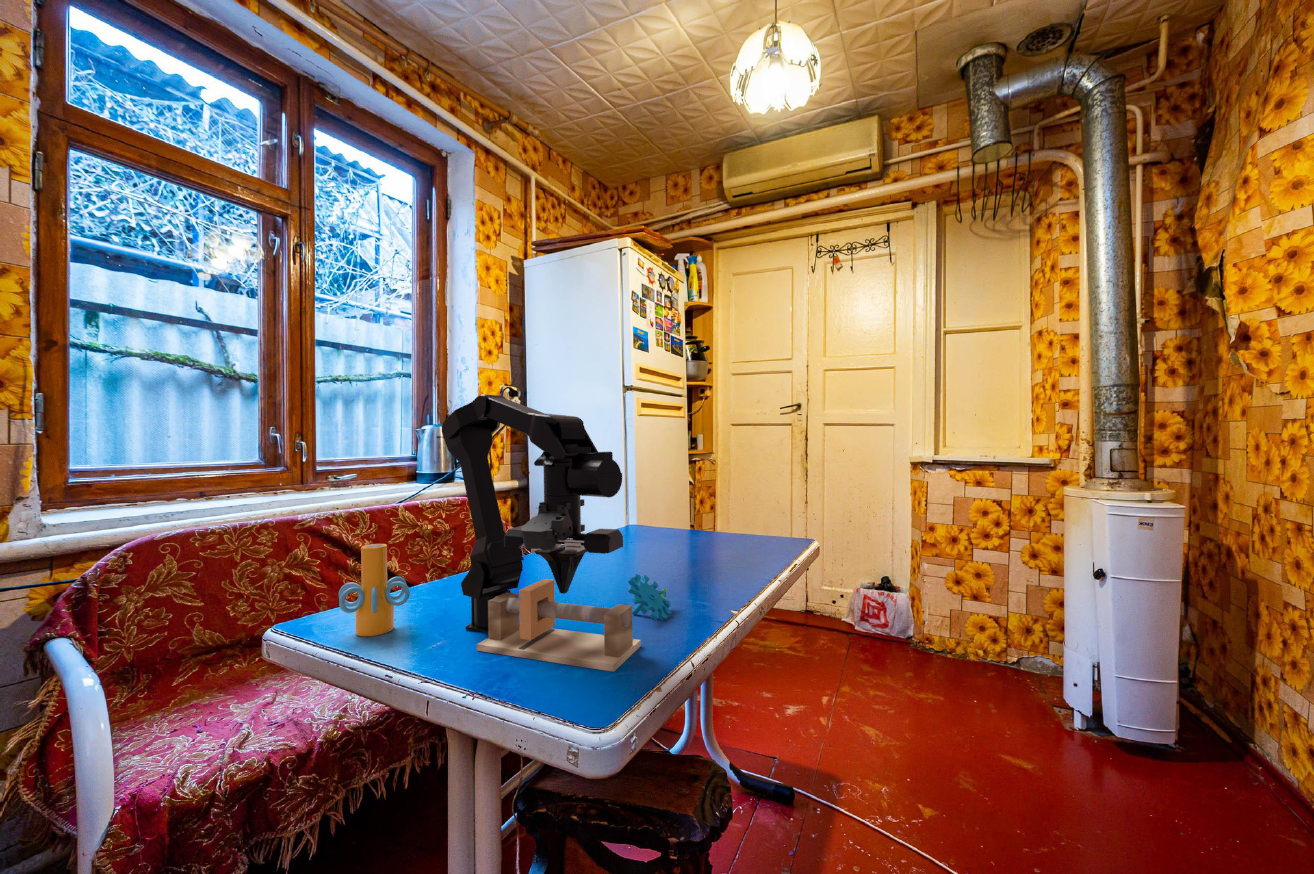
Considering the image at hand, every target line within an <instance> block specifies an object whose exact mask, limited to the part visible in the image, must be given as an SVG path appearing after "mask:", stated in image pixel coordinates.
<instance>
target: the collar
mask: <svg viewBox="0 0 1314 874" xmlns="http://www.w3.org/2000/svg"><path fill="white" fill-rule="evenodd" d="M555 596H556V594H555V579H549V578H543V579H541V580H539V581H536V582H534V583H532V584H530V585H528V586H527V585H526V586H525V587H523V588H520V589H519V598H520V614H519V624H520V639H527V640H532V639H534V638H535V637H537V636H538V635H540V634H542V633H543V632H545V631H546V630H548V629H550V628H553V627H554V626H555V625H556V618H549V617H541V616H540V617H538V610H537V602H538V601H540V600H542V601H548V602H556V601H555V598H556V597H555Z"/></svg>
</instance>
